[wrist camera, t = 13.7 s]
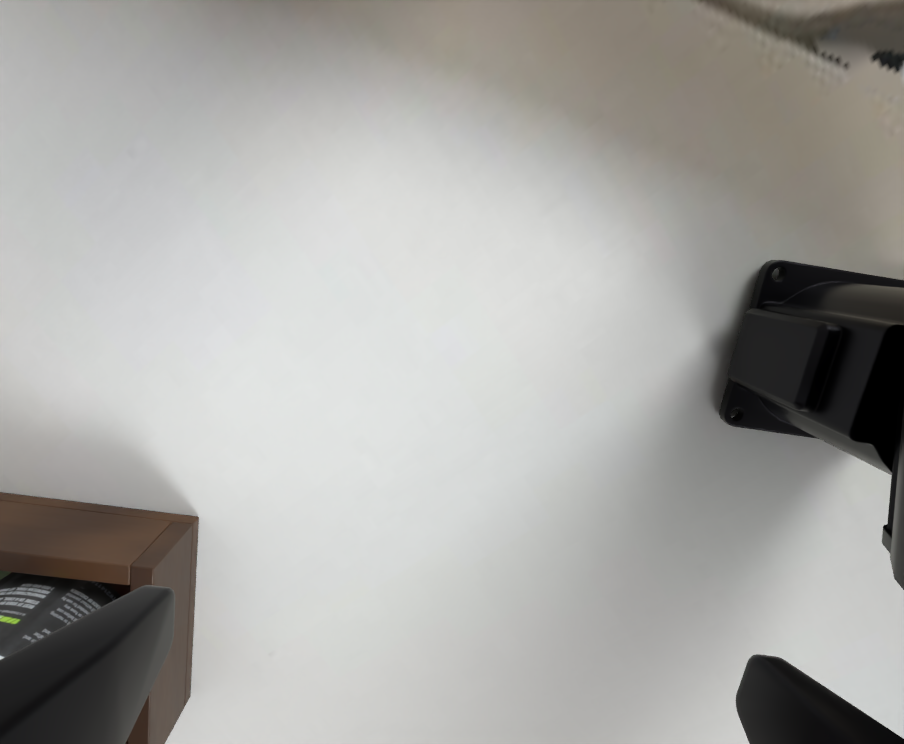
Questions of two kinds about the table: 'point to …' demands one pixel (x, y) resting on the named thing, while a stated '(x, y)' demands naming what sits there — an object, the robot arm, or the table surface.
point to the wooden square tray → (114, 574)
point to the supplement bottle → (46, 606)
